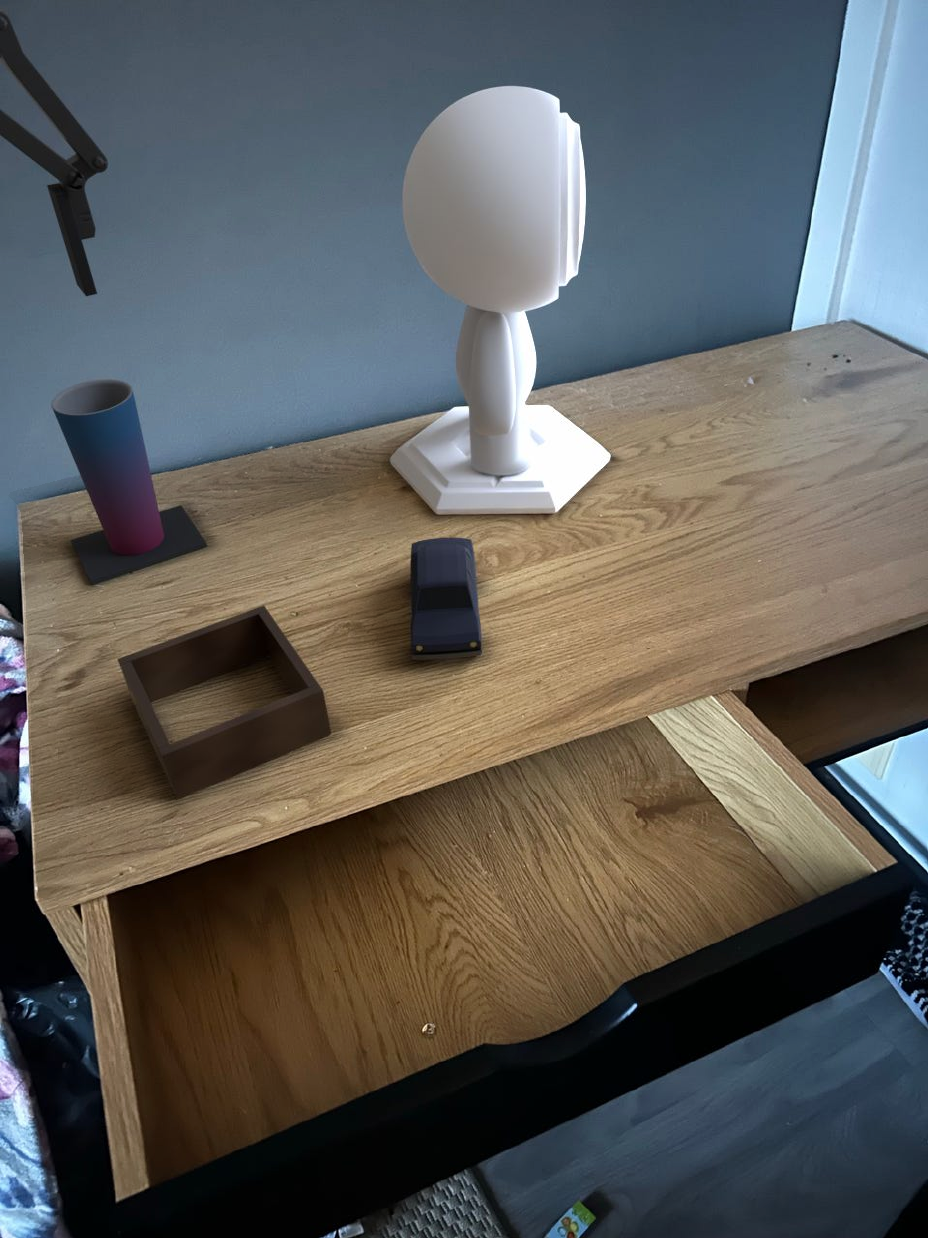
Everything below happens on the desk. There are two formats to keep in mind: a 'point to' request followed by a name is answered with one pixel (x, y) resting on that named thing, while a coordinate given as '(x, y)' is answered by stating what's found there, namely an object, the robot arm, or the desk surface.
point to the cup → (112, 461)
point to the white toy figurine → (498, 298)
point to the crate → (242, 736)
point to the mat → (109, 564)
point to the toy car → (444, 600)
